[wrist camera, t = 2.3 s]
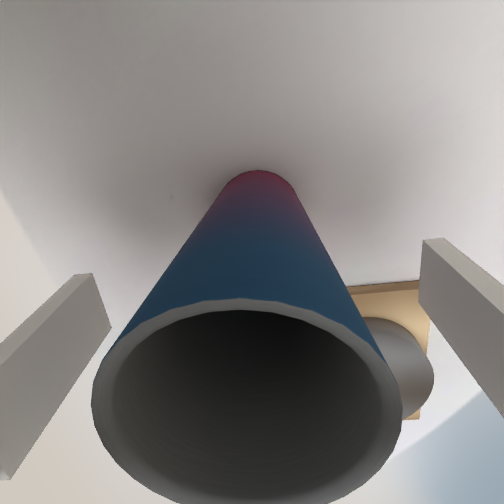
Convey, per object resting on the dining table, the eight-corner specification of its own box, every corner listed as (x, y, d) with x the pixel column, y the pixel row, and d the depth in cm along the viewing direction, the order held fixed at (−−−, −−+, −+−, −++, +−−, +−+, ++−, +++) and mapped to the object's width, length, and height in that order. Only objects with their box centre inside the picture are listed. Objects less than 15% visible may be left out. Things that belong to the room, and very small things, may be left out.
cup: (207, 260, 23) (121, 514, 9) (198, 155, 20) (52, 298, 6) (311, 260, 22) (380, 521, 9) (317, 153, 20) (433, 299, 6)
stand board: (162, 303, 24) (150, 330, 22) (427, 279, 23) (448, 305, 20) (196, 421, 29) (189, 455, 27) (414, 408, 28) (430, 443, 25)
